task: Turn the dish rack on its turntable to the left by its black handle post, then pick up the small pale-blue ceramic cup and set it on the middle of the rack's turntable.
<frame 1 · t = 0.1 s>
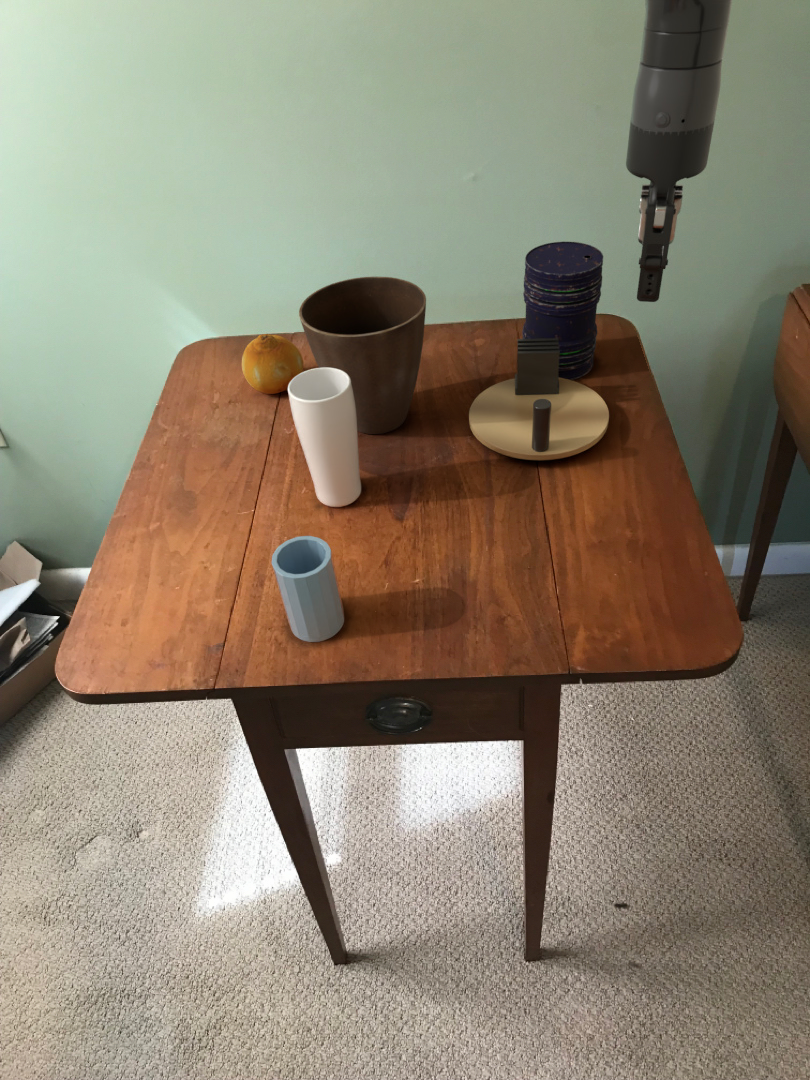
hand: (649, 281, 83), 18 cm above the table, tool pointing down, fingers open, 8 cm apart
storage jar: (557, 363, 107), on the table
flower pot: (377, 419, 101), on the table
fruit: (277, 386, 108), on the table
turntable base: (537, 427, 96), on the table
drinking glass: (339, 495, 90), on the table
dish rack: (538, 394, 93), point 5 cm above the table, hinge at 0.0°
cup: (317, 620, 76), on the table
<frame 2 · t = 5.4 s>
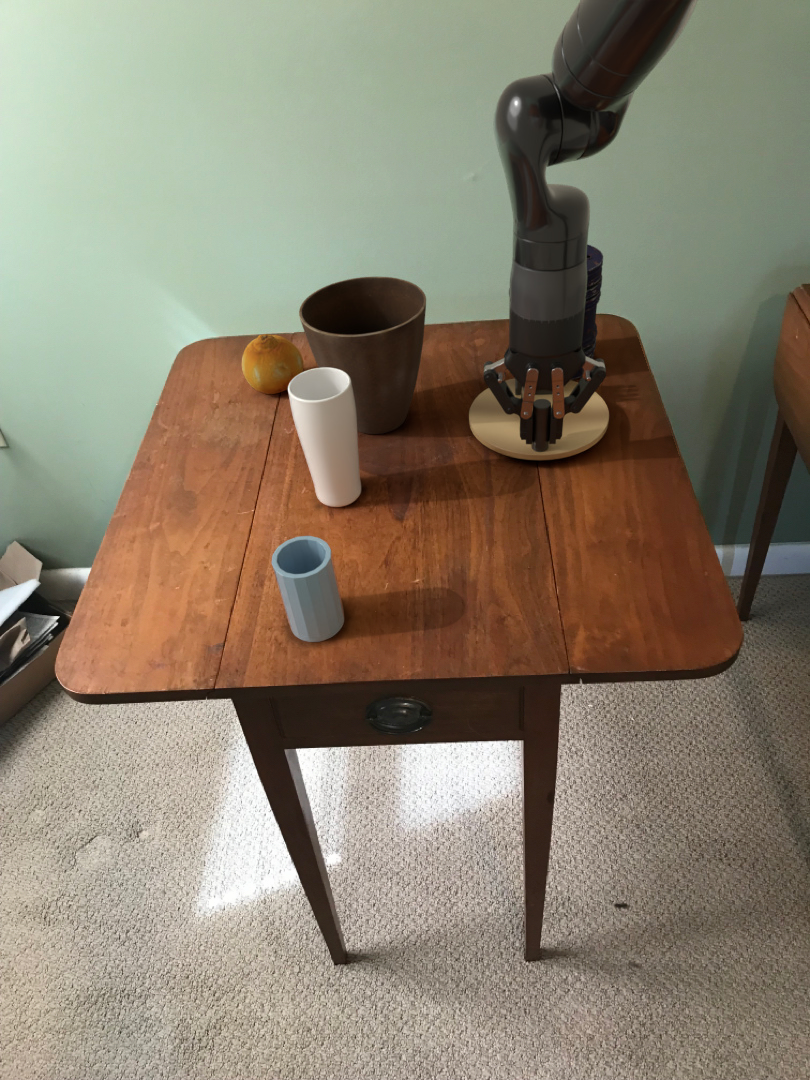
hand: (540, 439, 89), 3 cm above the table, tool pointing down, fingers closed on dish rack, 2 cm apart
dish rack: (538, 394, 93), point 5 cm above the table, hinge at -0.3°, touching gripper
everything else where it was.
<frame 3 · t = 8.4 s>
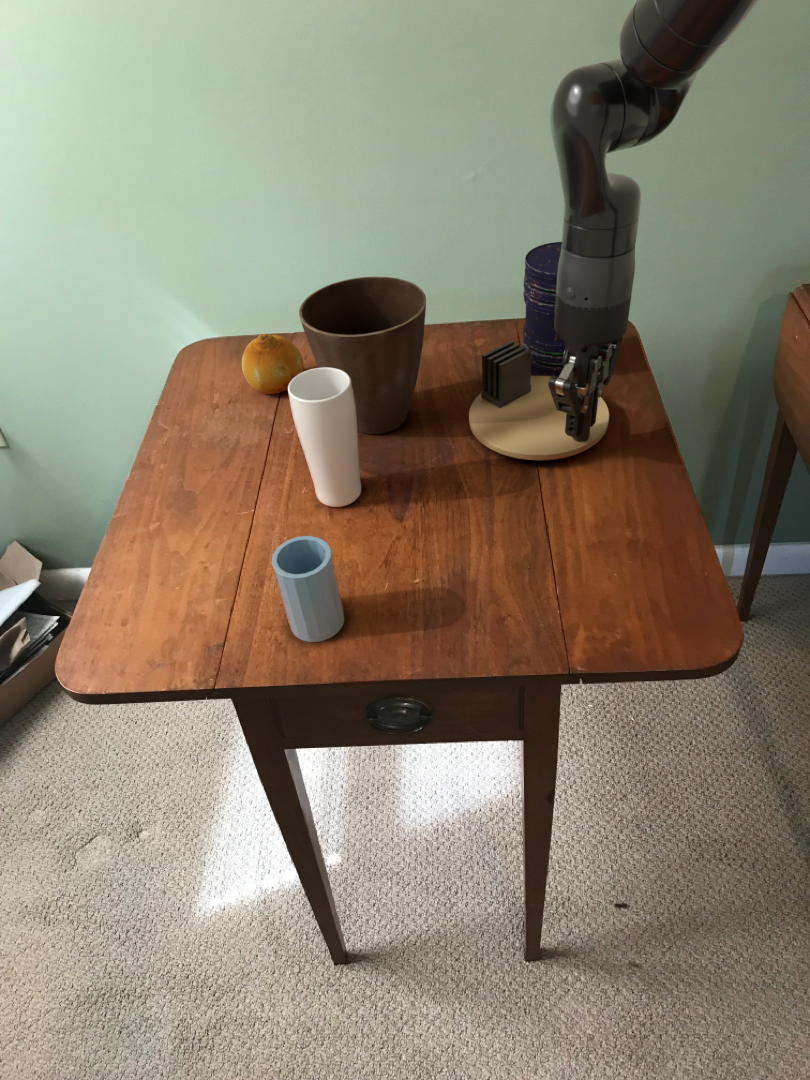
hand: (580, 429, 90), 3 cm above the table, tool pointing down, fingers closed on dish rack, 2 cm apart
dish rack: (538, 394, 93), point 5 cm above the table, hinge at 42.8°, touching gripper
everything else where it was.
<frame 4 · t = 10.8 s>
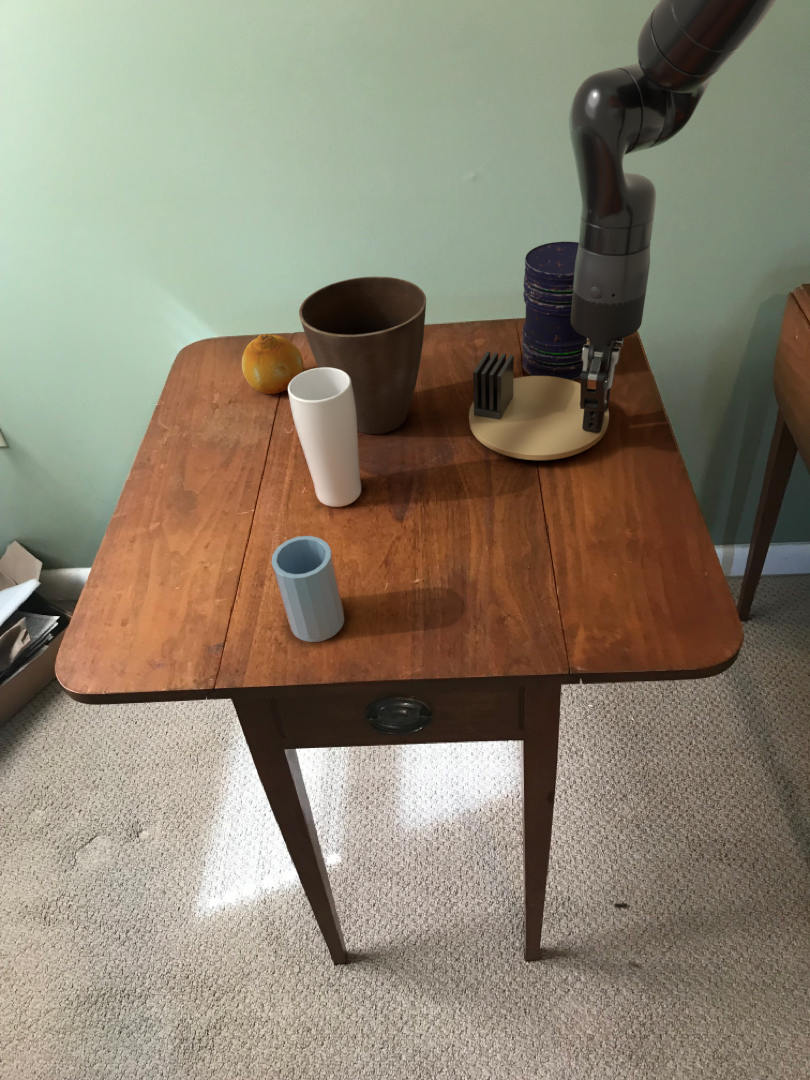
hand: (595, 419, 92), 2 cm above the table, tool pointing down, fingers open, 3 cm apart
dish rack: (538, 394, 93), point 5 cm above the table, hinge at 72.0°
everything else where it was.
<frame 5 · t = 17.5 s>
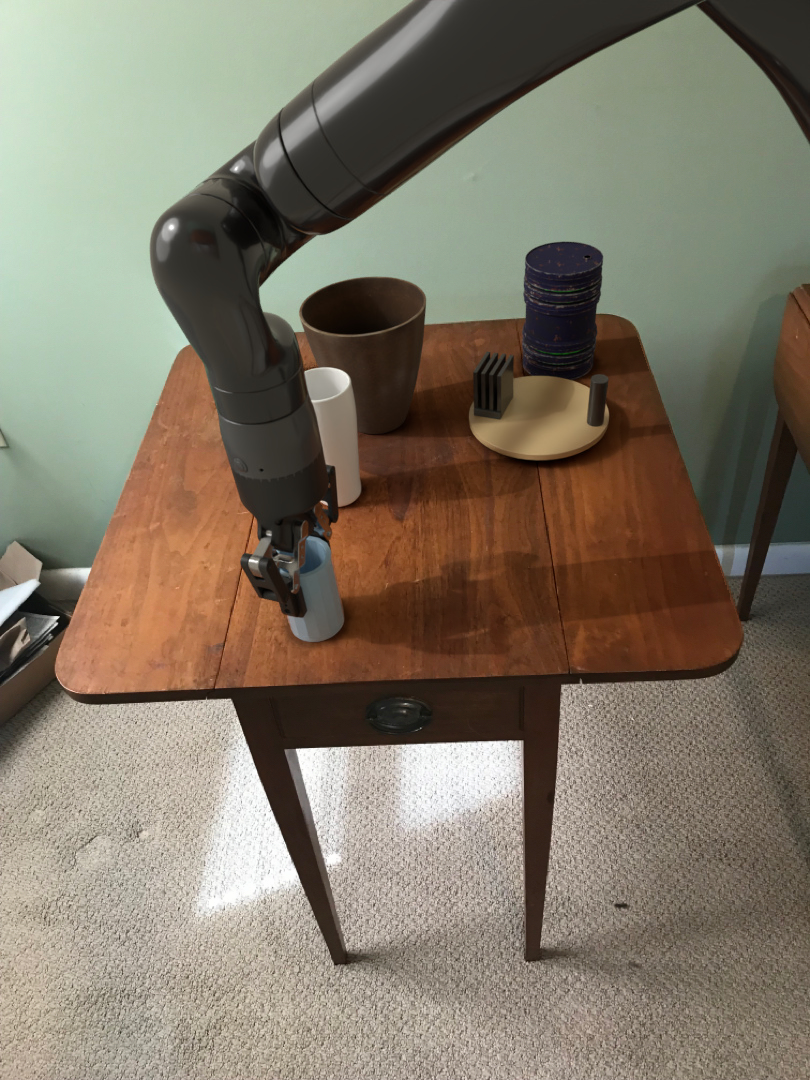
hand: (309, 589, 73), 4 cm above the table, tool pointing down, fingers closed on cup, 5 cm apart
cup: (317, 620, 76), on the table, touching gripper
everything else where it was.
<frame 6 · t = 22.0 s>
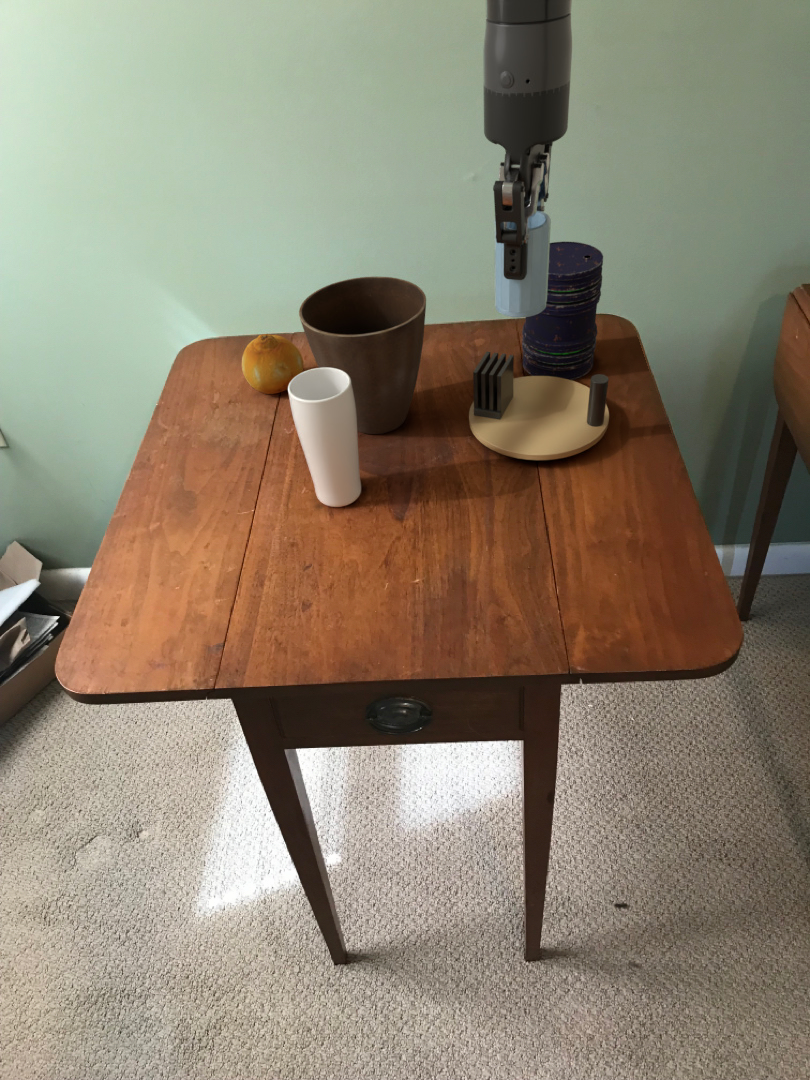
hand: (522, 264, 78), 23 cm above the table, tool pointing down, fingers closed on cup, 5 cm apart
cup: (520, 305, 82), point 18 cm above the table, touching gripper
everything else where it was.
when the fingers open (7 cm above the table, at t = 26.3 s): cup stays where it is, resting on dish rack.
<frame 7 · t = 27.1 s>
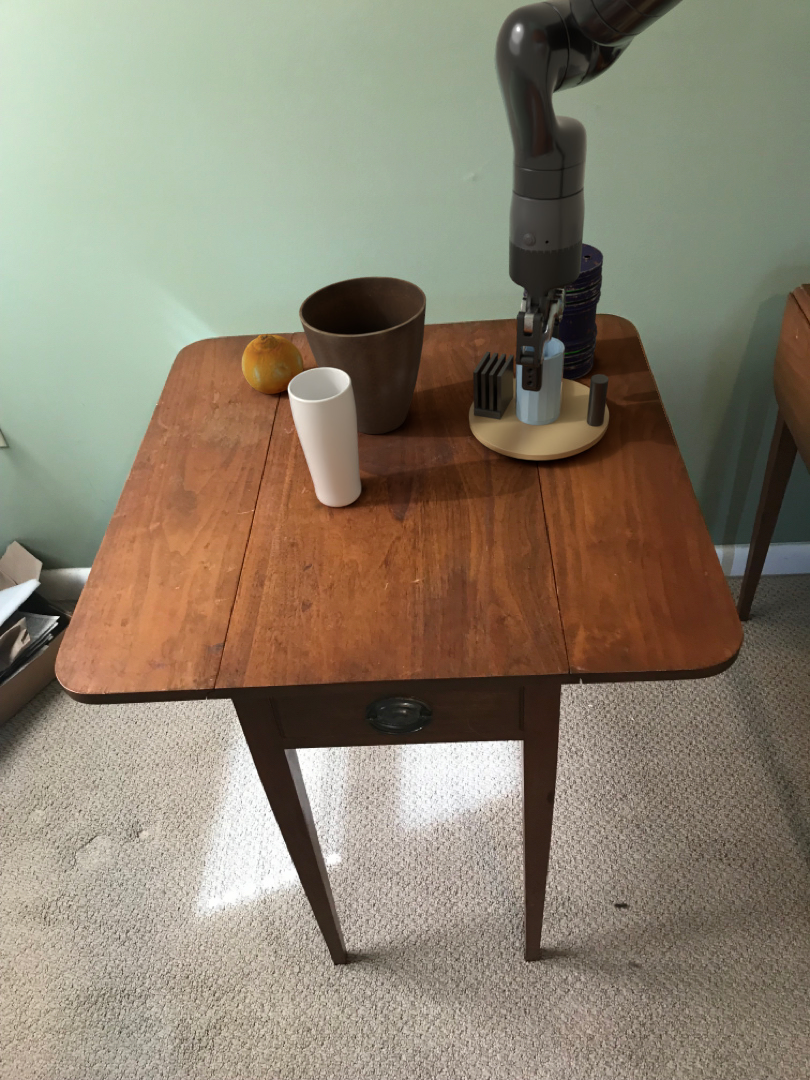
hand: (540, 370, 90), 8 cm above the table, tool pointing down, fingers open, 8 cm apart
dish rack: (538, 394, 93), point 5 cm above the table, hinge at 72.0°, touching cup
cup: (537, 412, 94), point 2 cm above the table, touching dish rack
everything else where it was.
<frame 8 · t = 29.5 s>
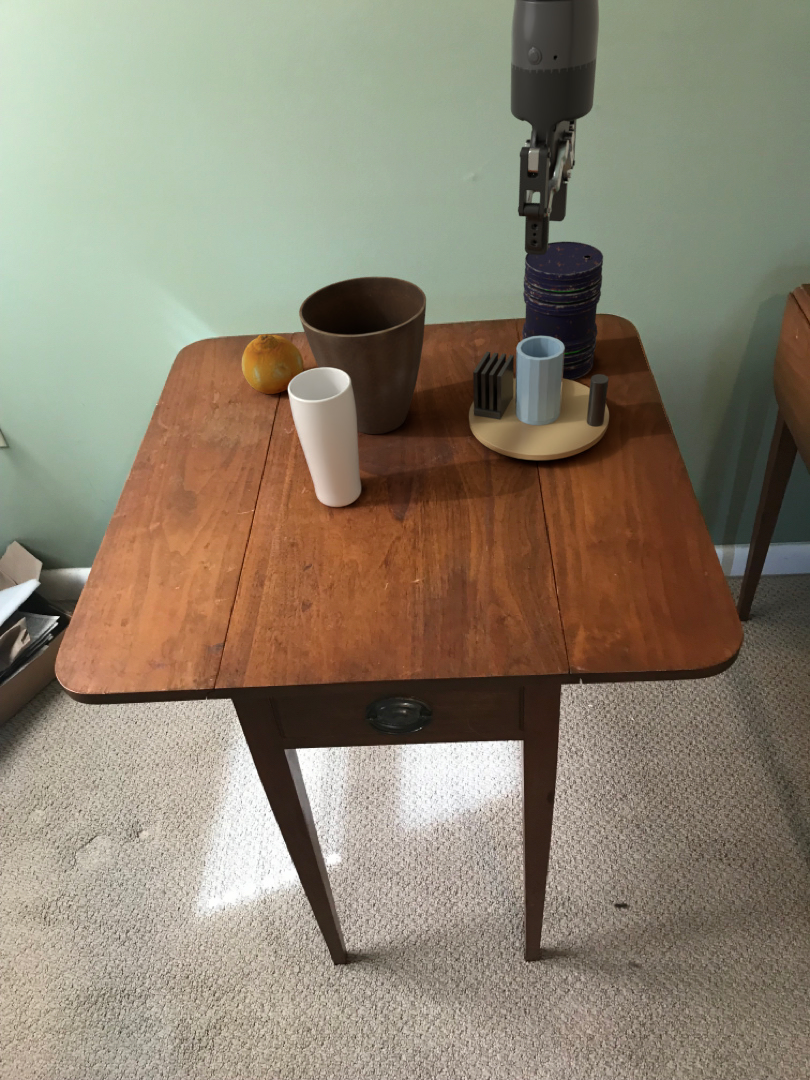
hand: (545, 235, 79), 24 cm above the table, tool pointing down, fingers open, 8 cm apart
nothing on the table moved.
at the end: dish rack at +72° (first picture: +0°); cup 0.1 cm off-centre on the dish rack, point 2.2 cm above the dish rack's base; cup tilted 0° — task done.
